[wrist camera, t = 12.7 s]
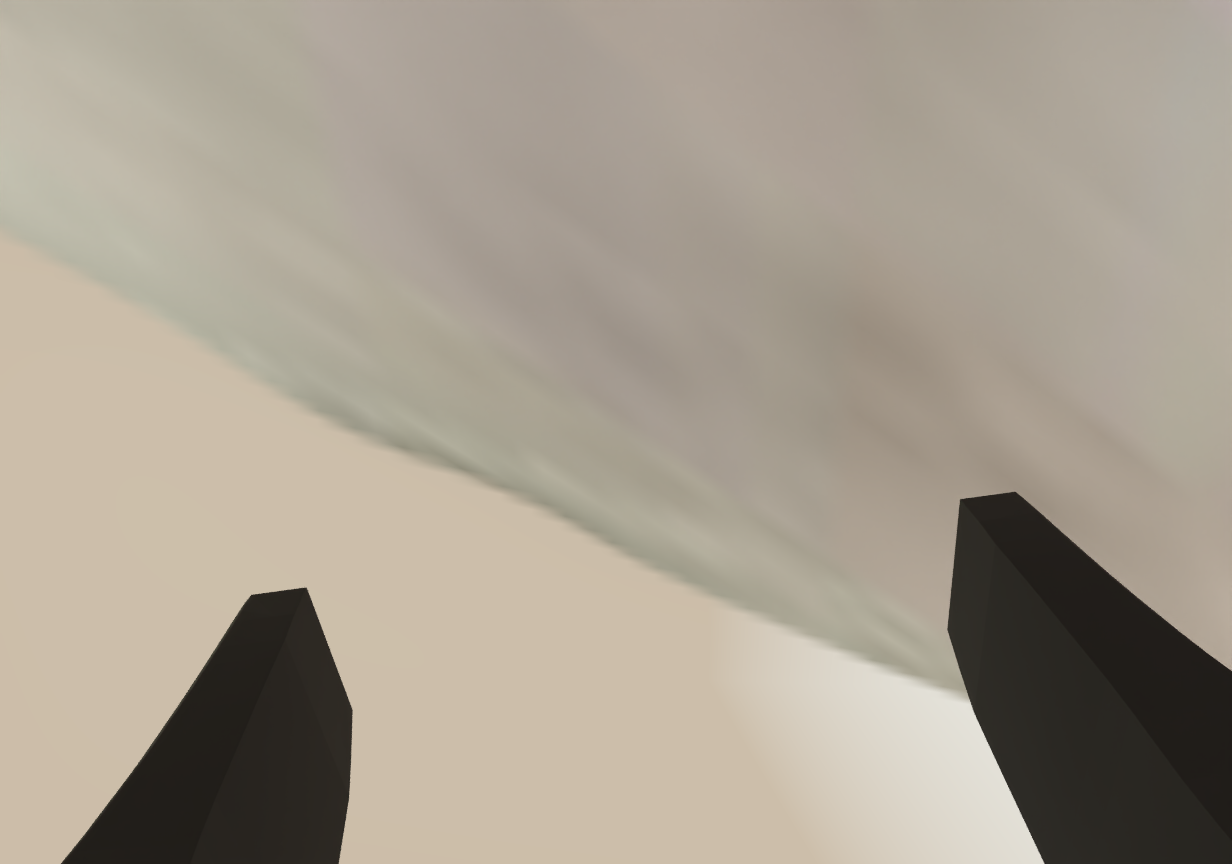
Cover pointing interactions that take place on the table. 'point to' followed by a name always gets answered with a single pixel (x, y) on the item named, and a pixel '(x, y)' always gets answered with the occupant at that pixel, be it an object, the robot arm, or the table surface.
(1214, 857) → the robot arm
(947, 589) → the table surface
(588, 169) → the table surface
